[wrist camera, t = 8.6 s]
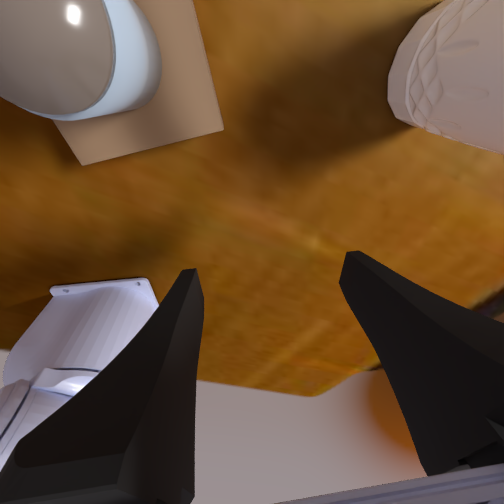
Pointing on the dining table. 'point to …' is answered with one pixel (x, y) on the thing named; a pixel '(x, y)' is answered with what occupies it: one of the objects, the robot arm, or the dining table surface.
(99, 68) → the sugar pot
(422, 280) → the dining table surface
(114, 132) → the walnut box
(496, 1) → the white cup
